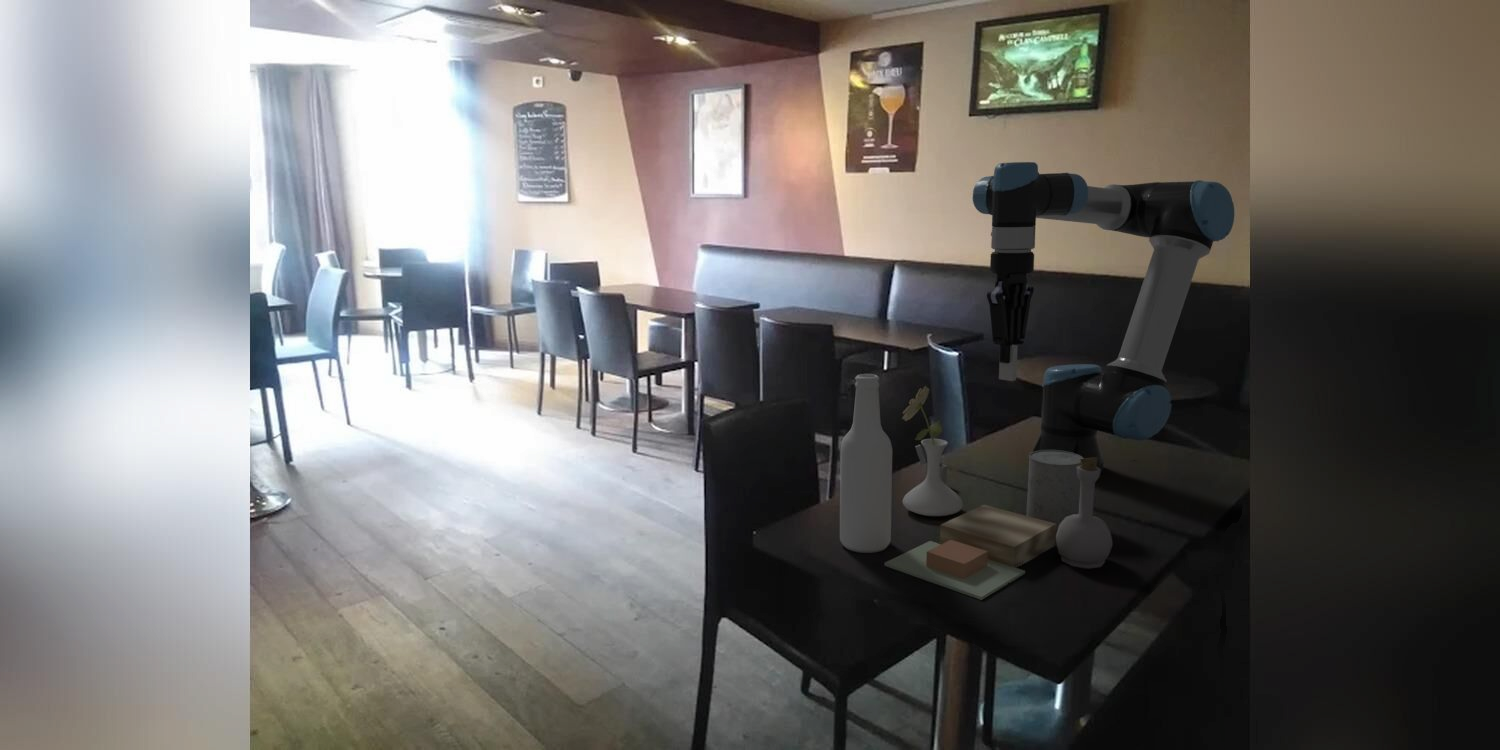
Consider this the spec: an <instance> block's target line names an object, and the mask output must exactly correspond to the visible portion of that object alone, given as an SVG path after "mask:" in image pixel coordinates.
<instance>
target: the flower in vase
mask: <svg viewBox="0 0 1500 750" xmlns="http://www.w3.org/2000/svg"><path fill="white" fill-rule="evenodd" d="M929 394H930V388H928V387H927V386H926V385H924V387H923V389H922V388H919V389H918V392H917V393H916V395H915V398H911V399H910V400H909V403H908V406H907V407H906V409H904V410H903V411H902V415H903V416H902V418H901V419H902V420H904V421H905V422H907V421H910V420H911V419H912V418H913V417H914V416H915V415H916V414H917V413H918V412H919V411H920V410H921V412H922V414H923V417H924V419H925V422H926V425H927V428H922V430H921V431H919V432H918V434H916V436H915V441H920V440H921V441H920V443H921V444H922V445H923V446H924V448H925V450H926V454H927V460H928V472H927V477H926V476H925V479H924V480H923V481H922V482H921V483H919V484H917V485H916V486H915V487H914V488H912V489H911V490H909V491H908V492H907V493H906V494H905V495H904V496H903V499H902V504H903V506H904V507H905V509H907V510H908V511H910V512H912V513H914V514H918V515H921V516H926V517H946V516H950V515H954V514H957V513H958V512H960V511H961V510H962V508H963V507H964V504H963V501H962V498H961V497H960V496H959V494H957V492H955V491H954V490H953V489H951V488H950V487H949V486H948V485H947V484H946V485H945V484H944V483H943V482H942V480H941V478H940V460H941V461H942V459H941V458H942V454H943V452H944V449H945V448H946V446H948V441H947V440H945V439H942V438H941V439H940V438H935V437H937V436H939V435H941V434H942V433H943V426H942V424H941V420H937V421H935V423H933V424H932V425H930V423H929V420H928V418H927V415H926V412H925V410H924V408H923V405H924V404H925V403H926V400H927V398H928V395H929ZM928 433H929V436H930V438H925V437H926V436H927V434H928ZM924 438H925V439H924Z"/></svg>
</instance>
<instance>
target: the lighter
mask: <svg viewBox="0 0 1500 750" xmlns="http://www.w3.org/2000/svg"><path fill="white" fill-rule="evenodd" d="M915 451H916V453H917V456H918V458H919V461H920V464H921V465H925V464H926V470H925V475H926V476H925V478H926V477H927V472H928V460H927V454H926V450H925V448H924V446H923V445H922V443H921V444H918V445H915ZM947 468H948V466H947V465H945V464H943V462H942V459H941V460H940V478H941V480H942V482H943V483H944V484H945V485H946V486H947V476H948V475H947V472H948V471H947V470H948V469H947Z"/></svg>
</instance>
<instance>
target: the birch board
mask: <svg viewBox="0 0 1500 750" xmlns="http://www.w3.org/2000/svg"><path fill="white" fill-rule="evenodd" d="M939 531H940V532H939V544H943V543H945V542H947V541H949V540H953V541H956V542H960V543H963V544H966V545H969V546H973V547H976V548H979V549H982V550H986V551H988V559H989V560H992V561H995V562H999V563H1002V564H1005V565H1008V566H1011V567H1014V568H1017V567H1018V568H1019V566H1020V567H1022V564H1023V565H1024V563H1025V564H1026V563H1028V562H1029V561H1031V560H1034V559H1035V558H1037V557H1038V556H1040V555H1041V554H1043V553H1045V552H1046V551H1048V550H1050V549H1052V548H1054V547H1055V546H1056V533H1057V530H1056V524H1055V523H1051V522H1047V521H1044V520H1040V519H1036V518H1032V517H1029V516H1026V515H1024V514H1022V513H1021V514H1020V513H1018V512H1013V511H1010V510H1005V509H1002V508H999V507H998V508H997V507H995V506H991V505H988V504H982V505H980V506H978V507H976V508H973V509H971V510H969V511H966V512H965V513H962V514H961V515H959V516H956V517H954V518H951V519H949V520H947V521H946V522H944V523H941V524H940V528H939Z"/></svg>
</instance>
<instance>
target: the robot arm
mask: <svg viewBox="0 0 1500 750" xmlns="http://www.w3.org/2000/svg"><path fill="white" fill-rule="evenodd" d="M972 204H973V206H974V208H975V209H976V210H977V211H978V212H979V213H980V214H983V215H990V216H991V232H990V237H991V242H990V247H991V249H992V250H994V251H992V252H991V254H990V260H989V261H990V264H989V265H990V266H989V267H990V268H989V269H990V273H993V274H995V275H996V278H995V282H994V287H995V288H994V290H993V291H988V292H987V293H986V299H987V301H988V304H989V312H990V322H991V333H992V341H993V343H994V344H995V345H999V364H998V365H999V366H998V380H1003V381H1009V382H1014V381H1016V380H1017V372H1018V371H1017V369H1018V348H1019V347H1018V346H1019V345H1024V343H1025V340H1024V339H1025V338H1026V331H1027V325H1028V319H1029V314H1030V306H1031V302H1032V301H1031V300H1032V297H1033V294H1034V291H1035V288H1034V287H1033V286H1029V285H1028V278H1027V274H1031V273H1033V271H1034V270H1035V269H1034V268H1035V253H1034V251H1032V250H1034V249H1035V248H1036V225H1037V224H1036V223H1037V219H1043V220H1053V221H1061V222H1062V221H1063V222H1064V221H1065V222H1073V223H1084V224H1090V225H1091V224H1094V225H1096V226H1097V227H1099V228H1100V229H1102V230H1105V231H1112V232H1119V233H1123V234H1127V235H1132V236H1137V237H1143V238H1149V239H1148V242H1149V243H1150V244H1151V246H1152V248H1153V252H1152V255H1151V257H1150V260H1149V263H1148V267H1147V270H1146V273H1145V276H1144V279H1143V282H1142V283H1141V284H1142V285H1141V286H1140V287H1141V288H1140V290H1139V293H1138V297H1137V300H1136V303H1135V305H1134V309H1133V312H1132V314H1131V317H1130V320H1129V324H1128V327H1127V329H1126V332H1125V336H1124V339H1123V341H1122V345H1121V347H1120V351H1119V354H1118V356H1117V358H1116V359H1115V360H1114V361H1112V362H1110V363H1108V364H1106V368H1105V370H1104V373H1103V370H1102V367H1101V366H1100V365H1098V364H1091V363H1090V364H1089V363H1088V364H1087V363H1085V364H1084V363H1078V364H1075V363H1074V364H1065V365H1063V364H1062V365H1054V366H1050V367H1049V368H1047V369H1046V370H1045V372H1044V374H1043V382H1042V385H1041V387H1042V390H1041V396H1042V397H1041V414H1040V415H1041V416H1040V417H1041V419H1040V433H1039V435H1038V438H1037V440H1036V442H1035V446H1034V447H1033V450H1032V452H1034V451H1038V450H1061V451H1067V452H1072V453H1075V454H1078V455H1080V456H1082V457H1083V458H1092V457H1098V458H1097V464H1096V467H1098V468H1100V469H1101V472H1100V475H1101V474H1103V472H1104V464H1105V463H1104V457H1103V454H1102V451H1101V447H1100V443H1099V440H1098V431H1099V432H1102V433H1105V434H1109V435H1112V436H1115V437H1119V438H1121V439H1125V440H1127V439H1130V440H1134V441H1145V440H1148V439H1151V438H1152V437H1153V436H1155V435H1157V434H1158V433H1160V431H1161V430H1162V429H1163V427H1164V426H1165V424H1167V421H1168V420H1169V417H1170V415H1171V411H1172V410H1171V409H1172V406H1173V405H1172V403H1171V401H1172V397H1171V394H1170V392H1169V390H1168V389H1166V388H1165V387H1166V384H1167V379H1166V377H1165V375H1164V373H1163V367H1164V364H1165V362H1166V359H1167V355H1168V352H1169V349H1170V346H1171V343H1172V340H1173V337H1174V334H1175V331H1176V327H1177V325H1178V322H1179V319H1180V317H1181V313H1182V310H1183V308H1184V304H1185V301H1186V299H1187V295H1188V293H1189V290H1190V286H1191V283H1192V281H1193V277H1194V276H1195V275H1194V274H1195V271H1196V269H1197V265H1198V263H1199V261H1200V260H1201V258H1204V257H1205V256H1207V255H1210V252H1211V249H1212V248H1213V247H1212V246H1213V243H1214V242H1219V241H1222V240H1224V239H1226V237H1227V236H1229V234H1230V232H1231V231H1232V229H1233V226H1234V222H1235V204H1234V201H1233V198H1232V194H1231V193H1230V192H1229V190H1228V188H1226V186H1224V185H1223V184H1222V183H1220V182H1217V181H1207V180H1206V181H1205V180H1200V179H1199V180H1195V181H1193V180H1192V181H1167V182H1166V181H1165V182H1159V181H1157V182H1156V181H1155V182H1153V181H1152V182H1145V183H1135V184H1123V185H1122V184H1108V185H1106V186H1104V187H1098V186H1092V185H1091V186H1090V185H1088V184H1087V182H1086V180H1085V179H1084V178H1083V177H1082V176H1081V175H1080V174H1077V173H1069V172H1058V173H1056V172H1055V173H1053V172H1052V173H1040V172H1039V165H1038V163H1037V162H1034V161H1021V162H1020V161H1018V162H1014V161H1013V162H1001V163H998V164H997V165H995V168H994V172H993V175H991V176H990V175H989V176H984V177H981V178H980V179H979V180H978V181H977V182H976V183H975V185H974V188H973V190H972Z"/></svg>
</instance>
